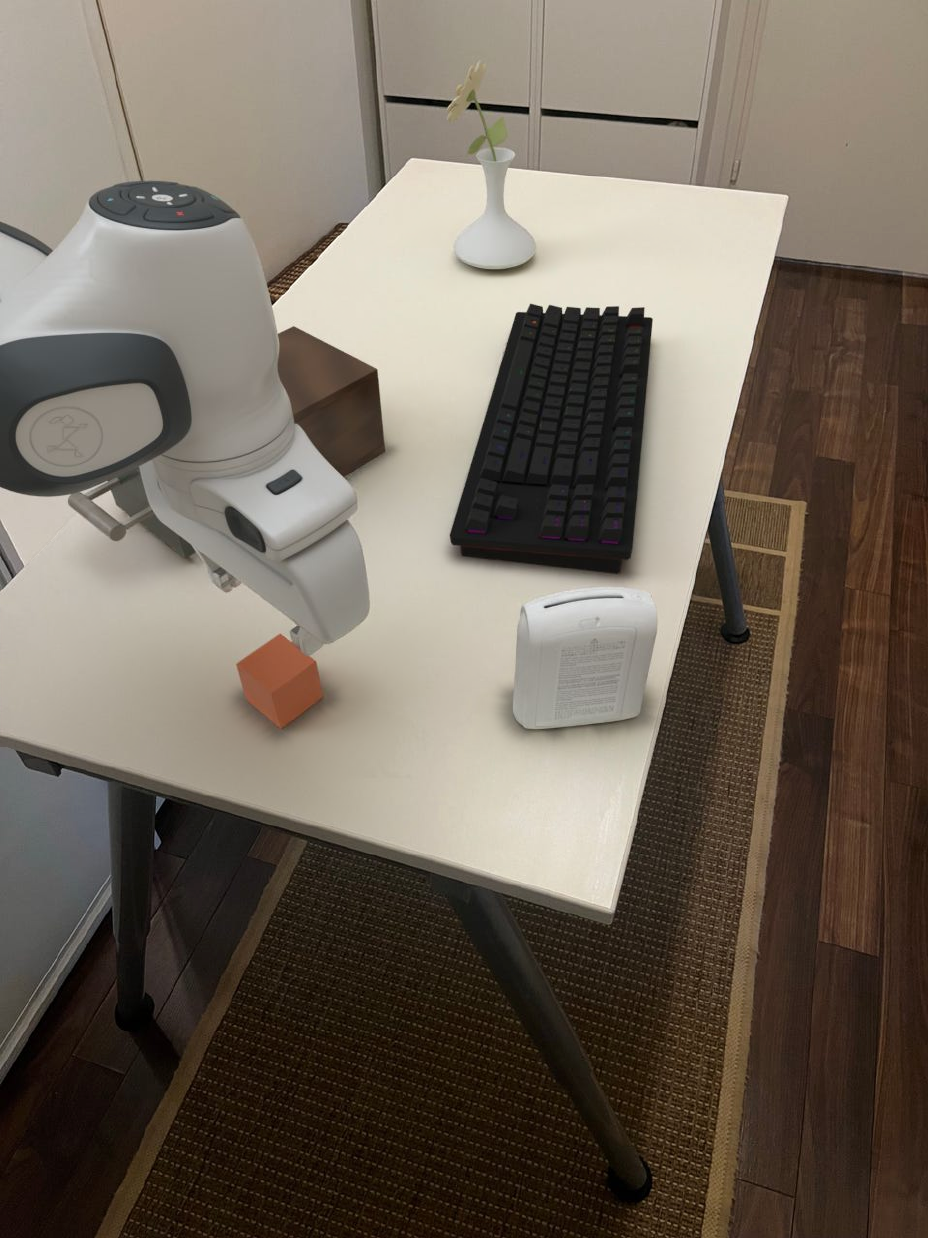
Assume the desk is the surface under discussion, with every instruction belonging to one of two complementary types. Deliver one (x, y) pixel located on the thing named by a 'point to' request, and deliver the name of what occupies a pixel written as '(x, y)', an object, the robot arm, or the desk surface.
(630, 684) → the photo printer
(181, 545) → the drawer
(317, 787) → the desk surface
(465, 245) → the flower in vase
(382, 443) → the cabinet
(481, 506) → the keyboard
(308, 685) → the block
